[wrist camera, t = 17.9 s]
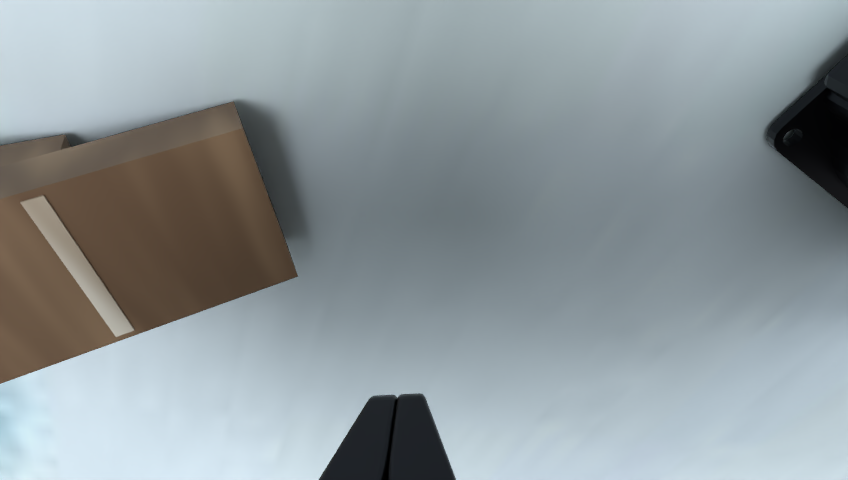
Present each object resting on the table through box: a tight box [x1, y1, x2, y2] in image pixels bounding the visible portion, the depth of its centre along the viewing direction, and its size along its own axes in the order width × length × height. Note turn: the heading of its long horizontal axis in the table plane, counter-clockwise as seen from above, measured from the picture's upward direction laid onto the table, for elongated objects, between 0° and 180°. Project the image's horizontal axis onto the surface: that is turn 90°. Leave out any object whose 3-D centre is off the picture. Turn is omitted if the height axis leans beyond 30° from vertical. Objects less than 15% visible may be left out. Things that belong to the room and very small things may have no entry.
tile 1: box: [0, 102, 298, 384], centre depth 15 cm, size 2×5×10 cm
